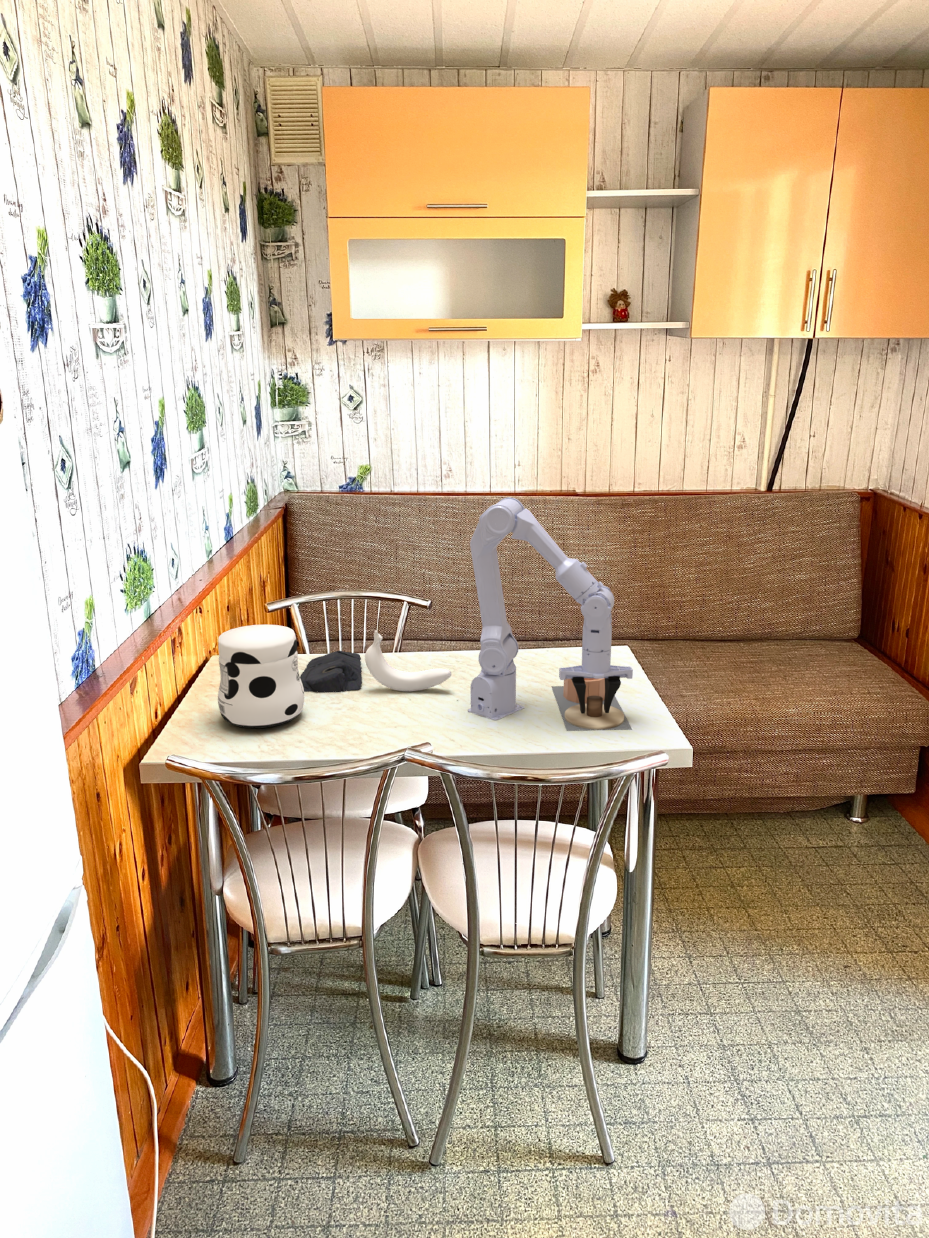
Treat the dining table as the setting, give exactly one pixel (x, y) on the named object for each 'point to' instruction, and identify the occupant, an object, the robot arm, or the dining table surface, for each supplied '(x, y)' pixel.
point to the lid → (594, 715)
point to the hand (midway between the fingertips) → (594, 711)
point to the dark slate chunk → (333, 673)
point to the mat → (566, 704)
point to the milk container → (259, 676)
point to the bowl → (592, 688)
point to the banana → (401, 672)
